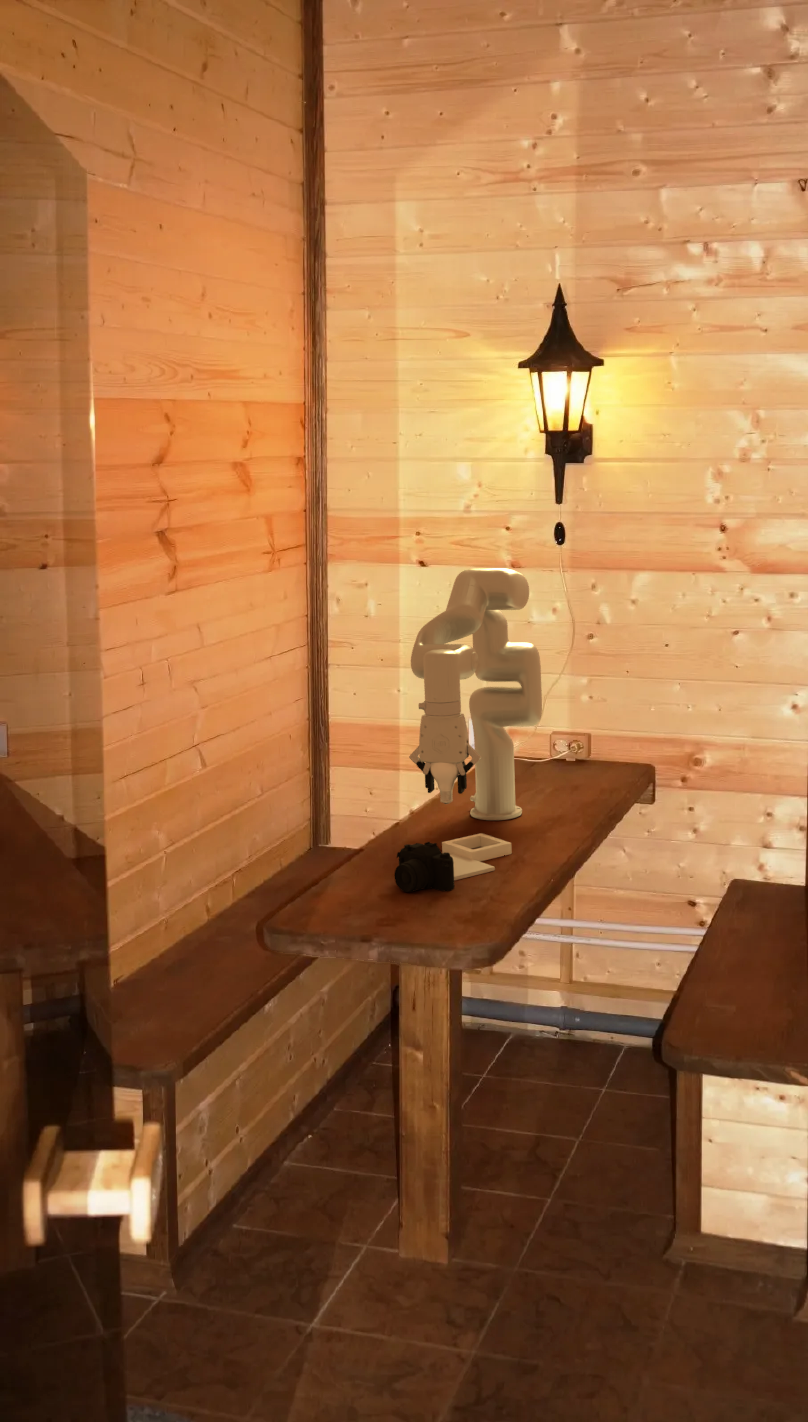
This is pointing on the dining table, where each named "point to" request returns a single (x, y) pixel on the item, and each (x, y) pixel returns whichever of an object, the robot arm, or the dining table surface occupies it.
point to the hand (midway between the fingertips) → (446, 791)
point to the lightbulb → (445, 779)
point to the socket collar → (489, 846)
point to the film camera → (424, 868)
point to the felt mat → (468, 867)
